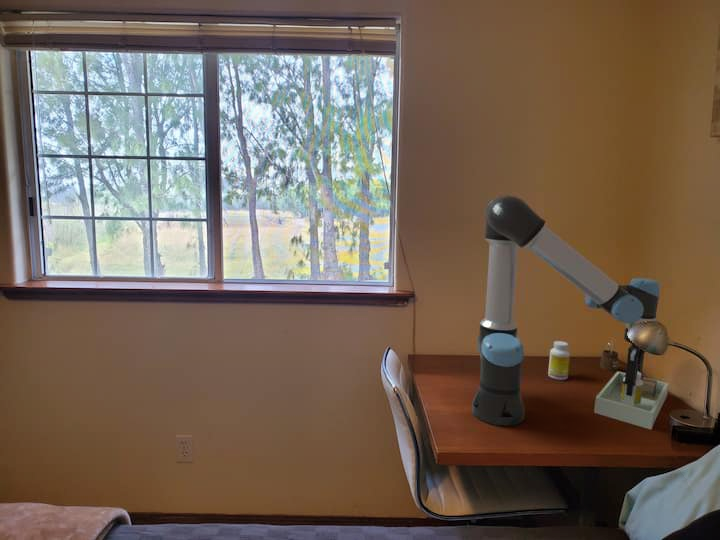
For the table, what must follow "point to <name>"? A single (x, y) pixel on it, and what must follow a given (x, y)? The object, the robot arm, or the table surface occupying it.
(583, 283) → the robot arm
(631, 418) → the tote
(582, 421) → the table surface
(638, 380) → the supplement bottle
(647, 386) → the walnut block
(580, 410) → the table surface
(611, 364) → the utensil holder
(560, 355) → the supplement bottle
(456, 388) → the table surface
